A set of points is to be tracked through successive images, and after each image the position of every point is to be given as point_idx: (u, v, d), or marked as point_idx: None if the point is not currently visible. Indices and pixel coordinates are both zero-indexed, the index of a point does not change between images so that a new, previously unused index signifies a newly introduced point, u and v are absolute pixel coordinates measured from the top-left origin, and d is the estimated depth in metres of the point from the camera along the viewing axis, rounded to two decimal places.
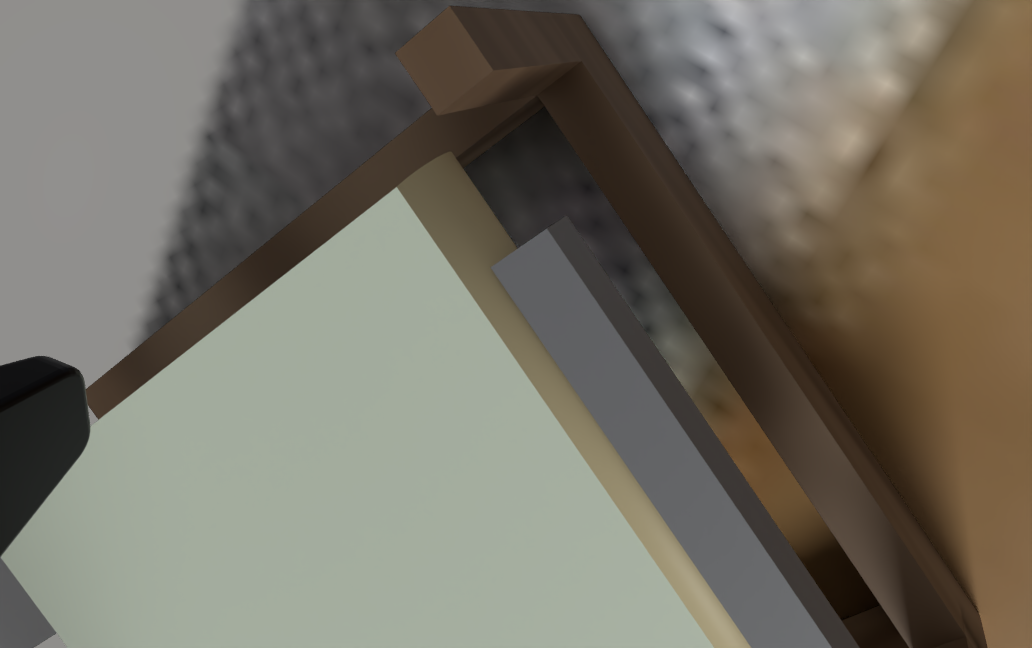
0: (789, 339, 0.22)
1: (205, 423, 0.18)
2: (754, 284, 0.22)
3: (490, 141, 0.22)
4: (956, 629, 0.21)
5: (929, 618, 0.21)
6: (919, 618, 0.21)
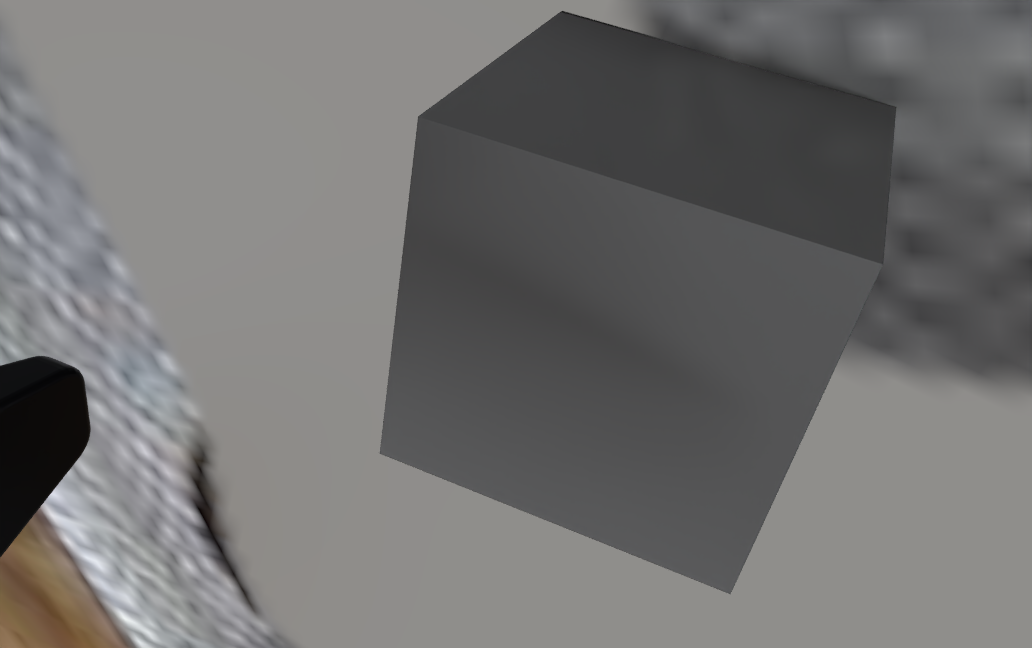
0: None
1: None
2: None
3: None
4: None
5: None
6: None
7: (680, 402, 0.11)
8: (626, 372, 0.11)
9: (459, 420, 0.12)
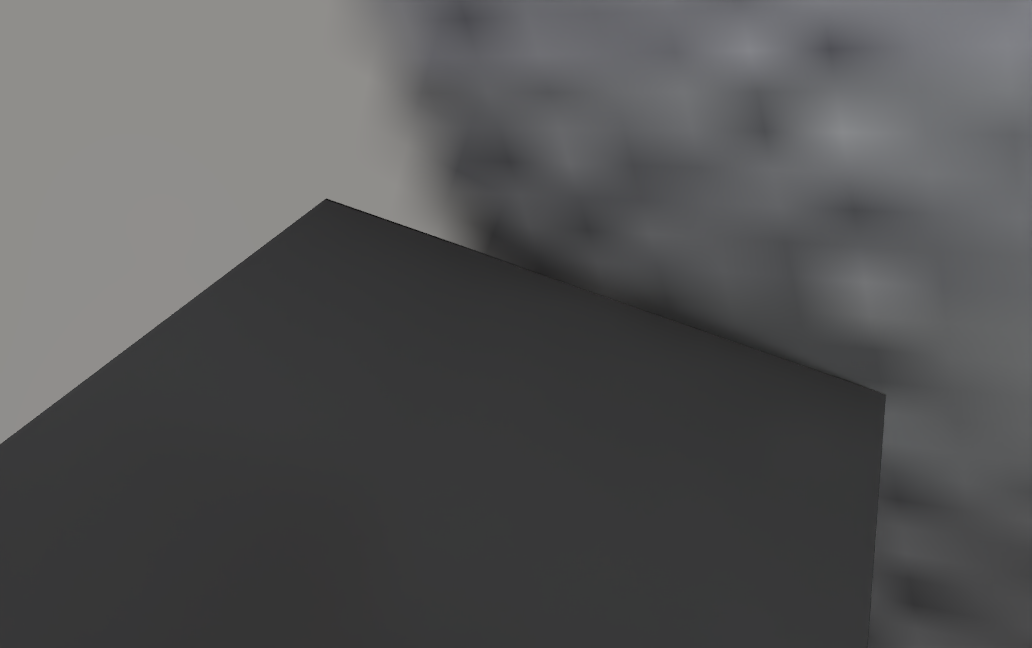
0: None
1: None
2: None
3: None
4: None
5: None
6: None
7: None
8: None
9: None
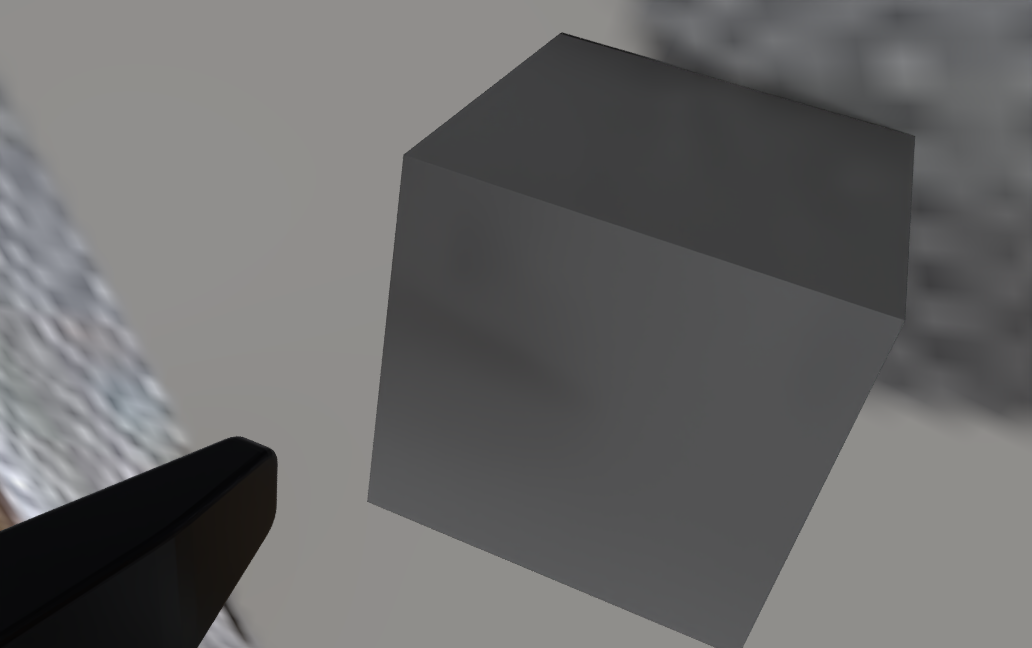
0: None
1: None
2: None
3: None
4: None
5: None
6: None
7: (684, 458, 0.10)
8: (627, 427, 0.10)
9: (450, 471, 0.11)
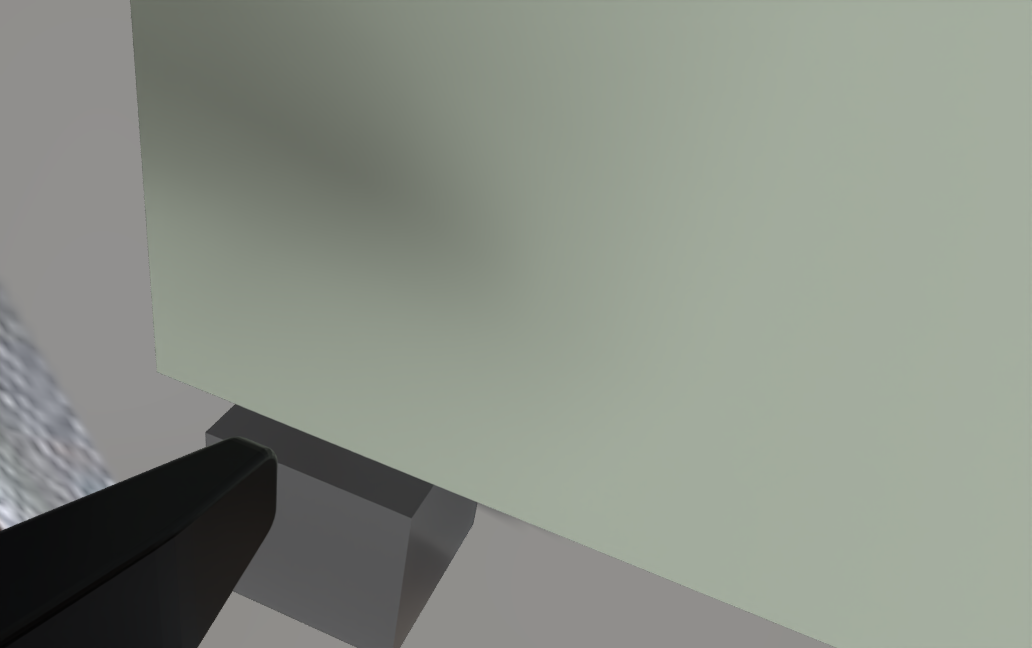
0: None
1: None
2: None
3: None
4: None
5: None
6: None
7: (345, 568, 0.21)
8: (319, 553, 0.21)
9: (247, 568, 0.22)
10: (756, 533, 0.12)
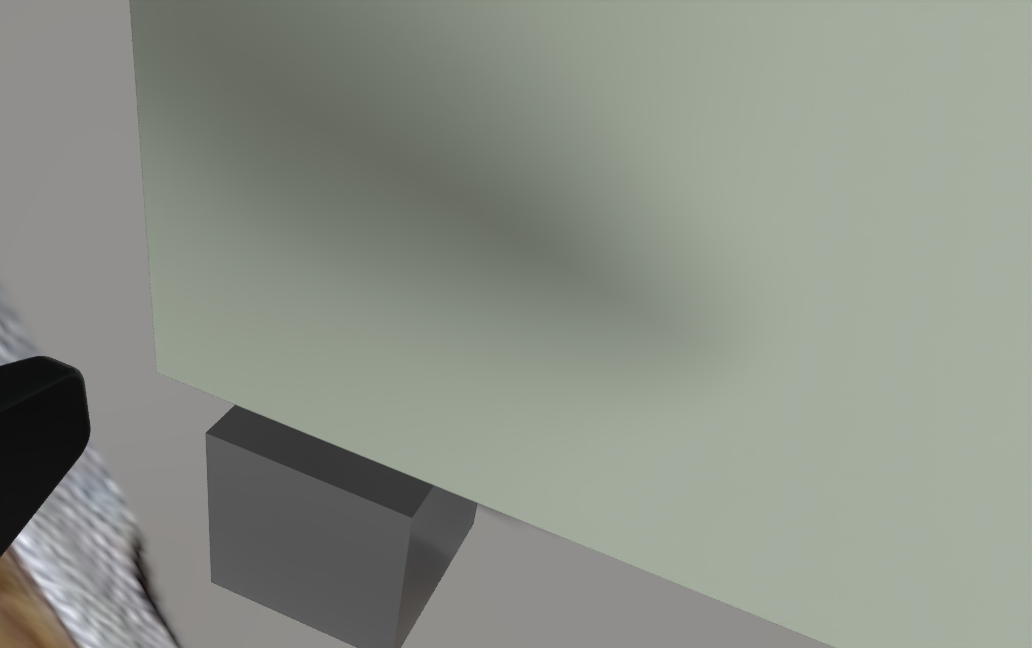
0: None
1: None
2: None
3: None
4: None
5: None
6: None
7: (346, 568, 0.21)
8: (319, 553, 0.21)
9: (247, 569, 0.22)
10: (755, 534, 0.12)
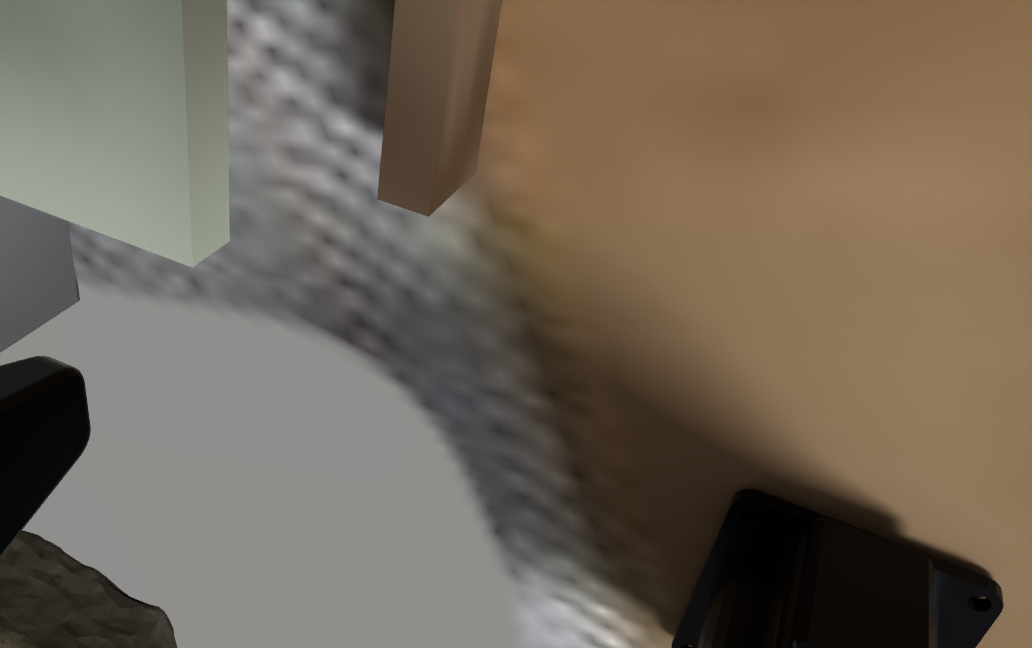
0: None
1: None
2: None
3: None
4: None
5: None
6: None
7: None
8: None
9: None
10: None
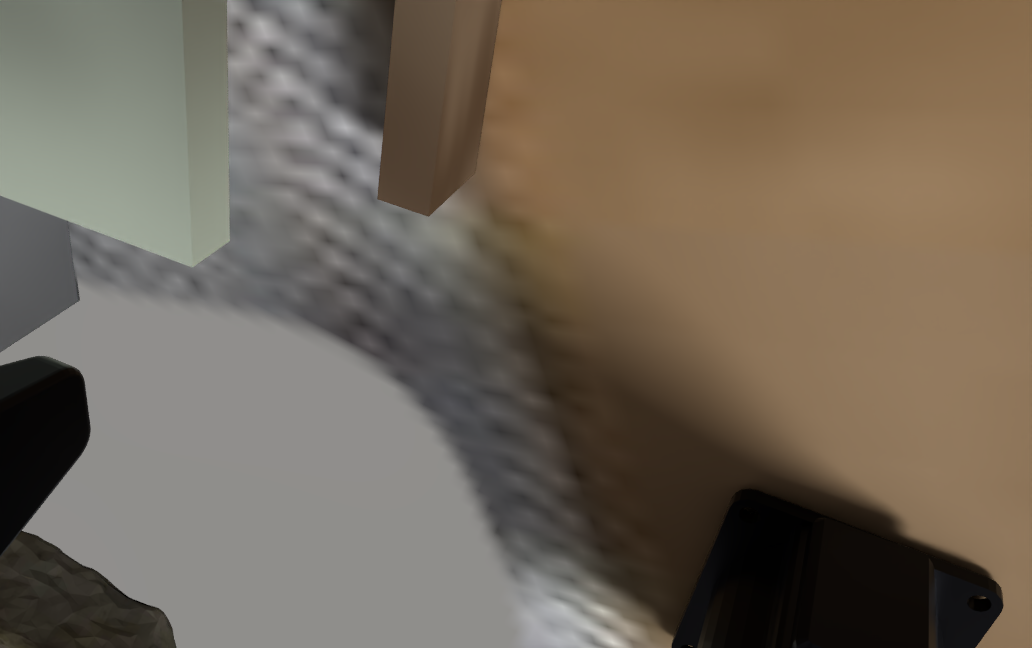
0: None
1: None
2: None
3: None
4: None
5: None
6: None
7: None
8: None
9: None
10: None
